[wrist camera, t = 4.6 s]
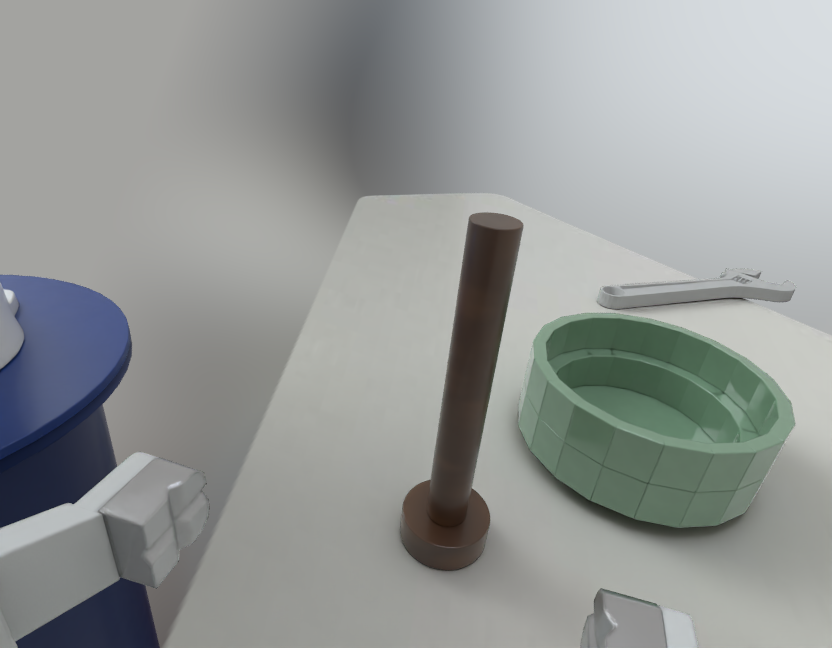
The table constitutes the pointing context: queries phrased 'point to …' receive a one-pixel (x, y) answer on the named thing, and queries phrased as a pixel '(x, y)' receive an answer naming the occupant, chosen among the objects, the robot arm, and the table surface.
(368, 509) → the table surface
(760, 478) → the bowl
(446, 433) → the muddler
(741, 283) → the adjustable wrench
